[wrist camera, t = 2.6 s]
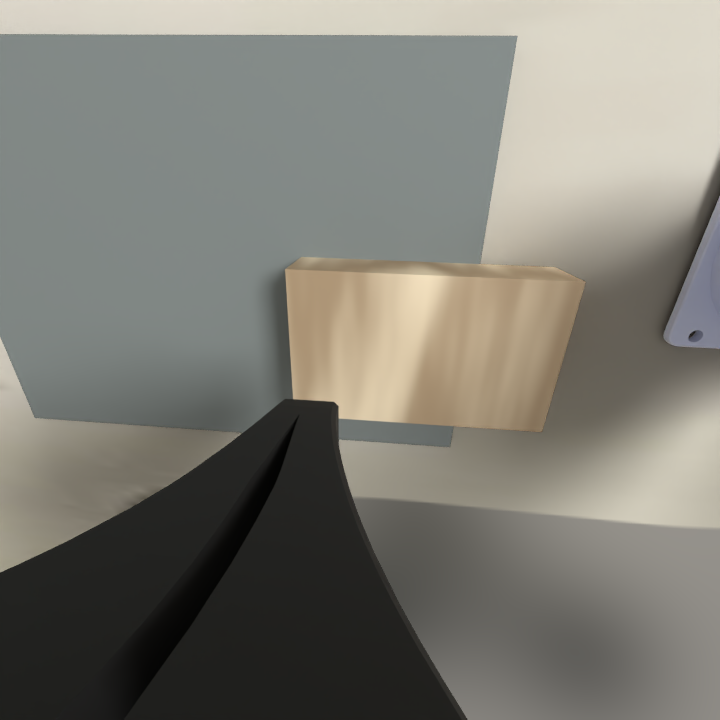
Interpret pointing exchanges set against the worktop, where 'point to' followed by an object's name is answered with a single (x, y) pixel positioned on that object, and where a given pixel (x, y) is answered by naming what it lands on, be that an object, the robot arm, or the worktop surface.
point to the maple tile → (430, 339)
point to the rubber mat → (223, 205)
